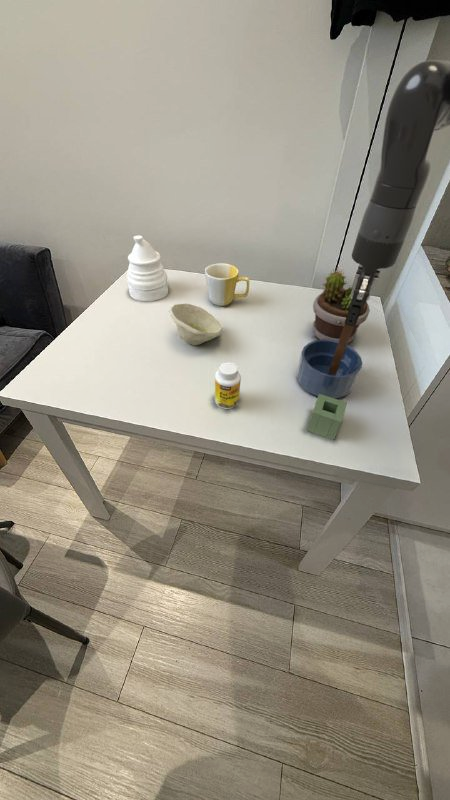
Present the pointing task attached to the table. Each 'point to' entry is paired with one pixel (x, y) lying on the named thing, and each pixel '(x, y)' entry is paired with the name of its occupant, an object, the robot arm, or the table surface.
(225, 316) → the table surface
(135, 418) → the table surface
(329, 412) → the stick holder
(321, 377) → the blue round tub
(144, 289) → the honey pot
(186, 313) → the bowl
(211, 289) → the mug
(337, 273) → the flowerpot
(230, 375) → the supplement bottle
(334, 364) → the brown stick
